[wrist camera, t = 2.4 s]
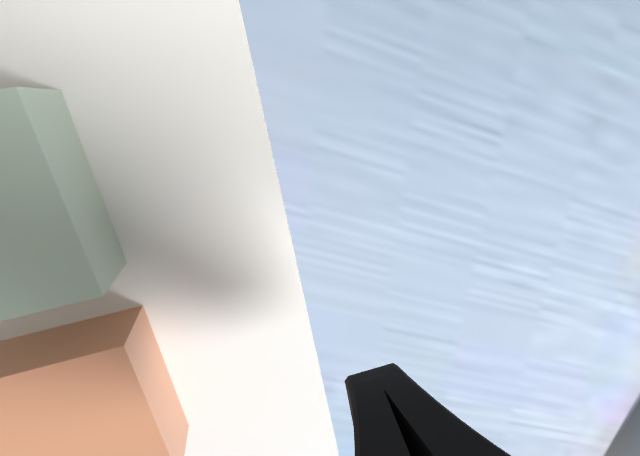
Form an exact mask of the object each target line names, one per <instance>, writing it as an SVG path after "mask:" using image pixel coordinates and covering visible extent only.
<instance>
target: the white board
mask: <svg viewBox="0 0 640 456" xmlns="http://www.w3.org/2000/svg"><path fill="white" fill-rule="evenodd" d="M11 87H27V88H41V89H54V90H61V91H62V94H63V96H64V99H65V102H66V104H67V107H68V110H69V112H70V115H71V117H72V120H73V123H74V125H75V128H76V131H77V133H78V136H79V138H80V141H81V144H82V146H83V149H84V152H85V154H86V157H87V159H88V162H89V165H90V167H91V170H92V173H93V175H94V178H95V180H96V183H97V186H98V188H99V191H100V194H101V196H102V199H103V201H104V204H105V207H106V209H107V212H108V214H109V217H110V220H111V222H112V225H113V228H114V230H115V233H116V235H117V238H118V241H119V243H120V246H121V249H122V251H123V254H124V256H125V259H126V262H127V263H126V264H125V266H124V267H123V269H122V270H121V272H120V273H119V274H118V276H117V277H116V279H115V280H114V281H113V283H112V284H111V286H110V287H109V289H108V290H107V291H106V293H105V294H104V296H102V297H97V298H93V299H89V300H85V301H81V302H77V303H73V304H69V305H65V306H61V307H56V308H52V309H48V310H44V311H40V312H36V313H32V314H28V315H24V316H20V317H15V318H11V319H7V320H3V321H0V341H2V340H6V339H10V338H14V337H18V336H22V335H26V334H30V333H34V332H38V331H42V330H46V329H50V328H54V327H58V326H62V325H66V324H70V323H74V322H78V321H82V320H86V319H90V318H94V317H98V316H102V315H106V314H110V313H114V312H118V311H122V310H126V309H130V308H134V307H138V306H142V305H143V306H144V309H145V312H146V314H147V317H148V319H149V322H150V325H151V327H152V330H153V333H154V335H155V338H156V340H157V343H158V346H159V348H160V351H161V354H162V356H163V359H164V361H165V364H166V367H167V369H168V372H169V375H170V377H171V380H172V382H173V385H174V388H175V390H176V393H177V396H178V398H179V401H180V403H181V406H182V409H183V411H184V414H185V417H186V419H187V422H188V424H189V429H188V435H187V441H186V448H185V454H184V456H337V455H339V453H338V449H337V444H336V440H335V435H334V431H333V426H332V422H331V417H330V413H329V408H328V404H327V399H326V395H325V390H324V385H323V381H322V376H321V372H320V367H319V363H318V358H317V354H316V349H315V345H314V340H313V336H312V331H311V326H310V322H309V317H308V313H307V308H306V304H305V299H304V295H303V290H302V286H301V281H300V277H299V272H298V268H297V263H296V258H295V254H294V249H293V245H292V240H291V236H290V231H289V227H288V222H287V218H286V213H285V209H284V204H283V199H282V195H281V190H280V186H279V181H278V177H277V172H276V168H275V163H274V159H273V154H272V150H271V145H270V141H269V136H268V131H267V127H266V122H265V118H264V113H263V109H262V104H261V100H260V95H259V91H258V86H257V82H256V77H255V72H254V68H253V63H252V59H251V54H250V50H249V45H248V41H247V36H246V32H245V27H244V23H243V18H242V14H241V9H240V4H239V0H0V89H5V88H11Z"/></svg>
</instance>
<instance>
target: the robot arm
mask: <svg viewBox="0 0 640 456" xmlns="http://www.w3.org/2000/svg"><path fill="white" fill-rule="evenodd" d="M345 384H346V389H347V394H348V399H349V405H350V410H351V415H352V420H353V425H354V441H355V456H511V455H509V454H508V453H506V452H505V451H503V450H502V449H500V448H499V447H497V446H496V445H494V444H493V443H492V442H490V441H489V440H487V439H486V438H485V437H483V436H482V435H480V434H479V433H478V432H476V431H475V430H473V429H472V428H471V427H469V426H468V425H467V424H465V423H464V422H463V421H461V420H460V419H459V418H458V417H456V416H455V415H454V414H453V413H451V412H450V411H449V410H448V409H446V408H445V407H444V406H443V405H441V404H440V403H439V402H438V401H436V400H435V399H434V398H433V397H432V396H430V395H429V394H428V393H427V392H426V391H425V390H423V389H422V388H421V387H420V386H419V385H418V384H417V383H416V382H414V381H413V380H412V379H411V378H410V377H409V376H408V375H407V374H406V373H405V372H404V371H403V370H401V369H400V368H399V367H398V366H397V365H395V364H394V363H392V364H388V365H385V366H381V367H378V368H374V369H371V370H368V371H364V372H361V373H357V374H354V375H350V376H348V377H347V379H346V380H345Z"/></svg>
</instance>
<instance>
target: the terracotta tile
mask: <svg viewBox="0 0 640 456" xmlns="http://www.w3.org/2000/svg"><path fill="white" fill-rule="evenodd" d="M188 429H189V424H188V422H187V419H186V417H185V414H184V411H183V409H182V406H181V403H180V401H179V398H178V396H177V393H176V390H175V388H174V385H173V382H172V380H171V377H170V375H169V372H168V369H167V367H166V364H165V361H164V359H163V356H162V354H161V351H160V348H159V346H158V343H157V340H156V338H155V335H154V333H153V330H152V327H151V325H150V322H149V319H148V317H147V314H146V312H145V309H144V306H143V305H142V306H138V307H134V308H130V309H126V310H122V311H118V312H114V313H110V314H106V315H102V316H98V317H94V318H90V319H86V320H82V321H78V322H74V323H70V324H66V325H62V326H58V327H54V328H50V329H46V330H42V331H38V332H34V333H30V334H26V335H22V336H18V337H14V338H10V339H6V340H2V341H0V456H184V454H185V448H186V441H187V435H188Z"/></svg>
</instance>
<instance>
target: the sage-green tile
mask: <svg viewBox="0 0 640 456" xmlns="http://www.w3.org/2000/svg"><path fill="white" fill-rule="evenodd" d="M126 263H127V262H126V259H125V256H124V254H123V251H122V249H121V246H120V243H119V241H118V238H117V235H116V233H115V230H114V228H113V225H112V222H111V220H110V217H109V214H108V212H107V209H106V207H105V204H104V201H103V199H102V196H101V194H100V191H99V188H98V186H97V183H96V180H95V178H94V175H93V173H92V170H91V167H90V165H89V162H88V159H87V157H86V154H85V152H84V149H83V146H82V144H81V141H80V138H79V136H78V133H77V131H76V128H75V125H74V123H73V120H72V117H71V115H70V112H69V110H68V107H67V104H66V102H65V99H64V96H63V94H62V91H61V90H54V89H41V88H27V87H11V88H5V89H0V321H3V320H7V319H11V318H15V317H20V316H24V315H28V314H32V313H36V312H40V311H44V310H48V309H52V308H56V307H61V306H65V305H69V304H73V303H77V302H81V301H85V300H89V299H93V298H97V297H102V296H104V294H105V293H106V291H107V290H108V289H109V287H110V286H111V284H112V283H113V281H114V280H115V279H116V277H117V276H118V274H119V273H120V272H121V270H122V269H123V267H124V266H125V264H126Z"/></svg>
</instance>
